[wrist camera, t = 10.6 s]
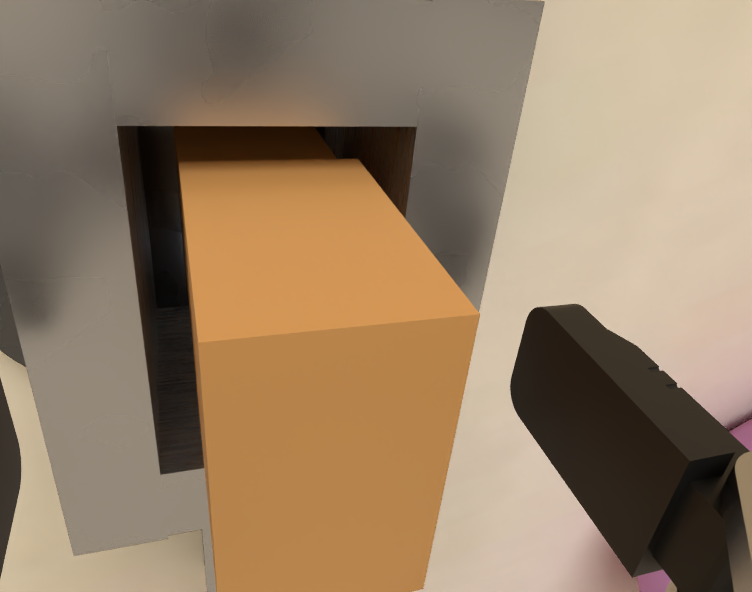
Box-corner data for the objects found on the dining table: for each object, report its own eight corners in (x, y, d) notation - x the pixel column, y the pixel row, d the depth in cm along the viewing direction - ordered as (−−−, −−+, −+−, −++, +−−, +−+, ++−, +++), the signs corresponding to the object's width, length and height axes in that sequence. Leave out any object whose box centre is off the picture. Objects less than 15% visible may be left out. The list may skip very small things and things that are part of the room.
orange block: (301, 86, 15) (480, 314, 7) (297, 268, 17) (422, 588, 9) (169, 84, 14) (199, 342, 6) (185, 277, 17) (220, 636, 9)
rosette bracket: (533, -132, 15) (783, -147, 9) (412, 526, 28) (484, 700, 22) (-223, -240, 11) (-688, -404, 5) (41, 601, 24) (3, 845, 18)
